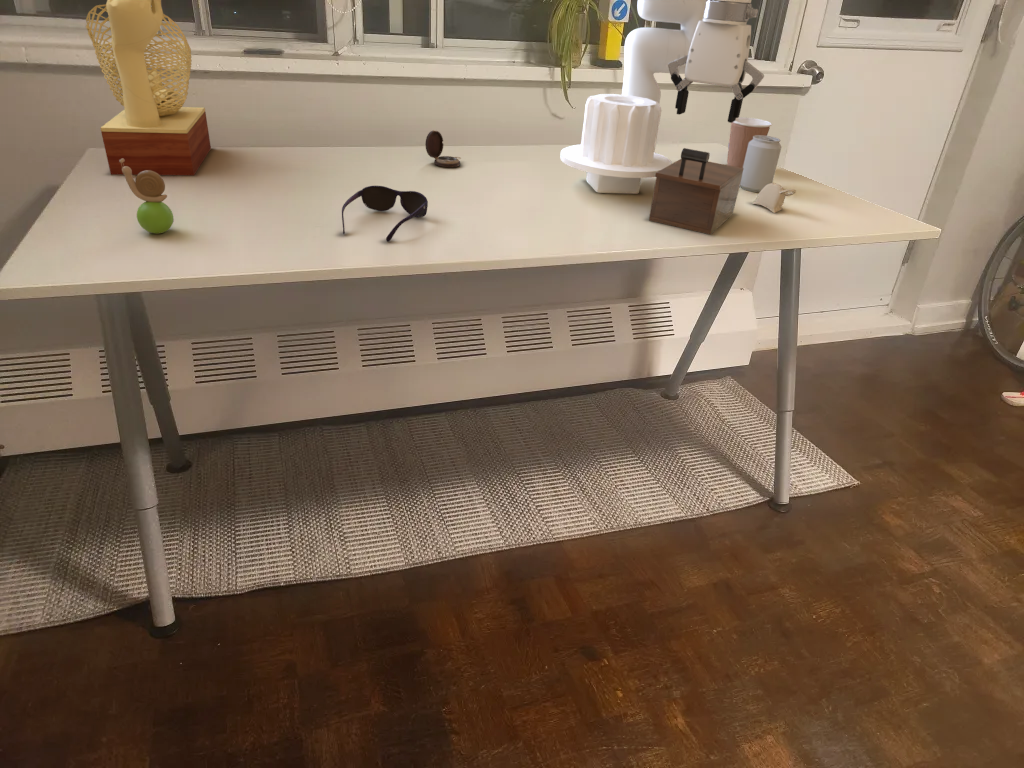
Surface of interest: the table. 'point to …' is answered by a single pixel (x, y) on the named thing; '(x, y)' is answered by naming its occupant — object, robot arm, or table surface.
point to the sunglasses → (391, 203)
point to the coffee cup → (744, 138)
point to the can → (760, 162)
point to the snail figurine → (150, 200)
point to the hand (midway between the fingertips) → (705, 117)
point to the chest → (693, 204)
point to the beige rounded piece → (773, 197)
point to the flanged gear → (617, 143)
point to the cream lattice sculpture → (148, 93)
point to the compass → (439, 150)
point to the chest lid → (699, 170)
